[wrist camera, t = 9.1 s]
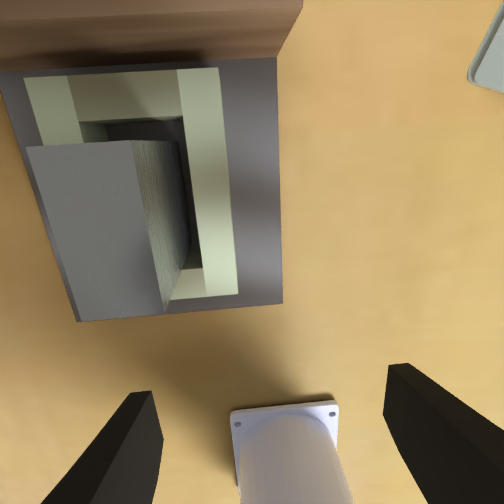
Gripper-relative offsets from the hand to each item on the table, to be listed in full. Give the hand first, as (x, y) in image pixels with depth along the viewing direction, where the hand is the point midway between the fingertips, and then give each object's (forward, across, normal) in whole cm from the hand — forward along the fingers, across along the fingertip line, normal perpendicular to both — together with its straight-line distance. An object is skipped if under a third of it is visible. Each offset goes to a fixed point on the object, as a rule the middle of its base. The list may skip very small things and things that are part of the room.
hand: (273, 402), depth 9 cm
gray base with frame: (+9, +4, -6) cm, 12 cm away
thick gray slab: (+8, +4, -5) cm, 11 cm away
